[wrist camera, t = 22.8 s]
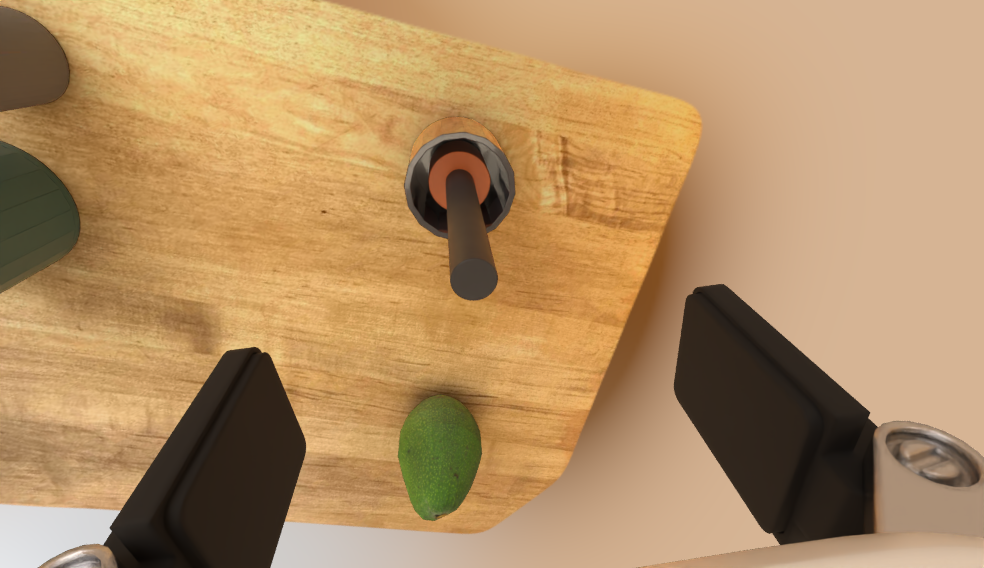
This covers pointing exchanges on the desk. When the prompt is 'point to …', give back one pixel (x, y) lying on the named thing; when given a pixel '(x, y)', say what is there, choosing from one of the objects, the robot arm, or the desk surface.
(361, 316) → the desk surface
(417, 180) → the holder
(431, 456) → the fruit
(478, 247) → the rod with orange collar
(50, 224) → the jar
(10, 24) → the bottle
